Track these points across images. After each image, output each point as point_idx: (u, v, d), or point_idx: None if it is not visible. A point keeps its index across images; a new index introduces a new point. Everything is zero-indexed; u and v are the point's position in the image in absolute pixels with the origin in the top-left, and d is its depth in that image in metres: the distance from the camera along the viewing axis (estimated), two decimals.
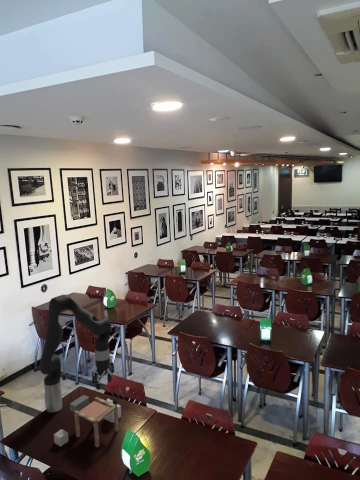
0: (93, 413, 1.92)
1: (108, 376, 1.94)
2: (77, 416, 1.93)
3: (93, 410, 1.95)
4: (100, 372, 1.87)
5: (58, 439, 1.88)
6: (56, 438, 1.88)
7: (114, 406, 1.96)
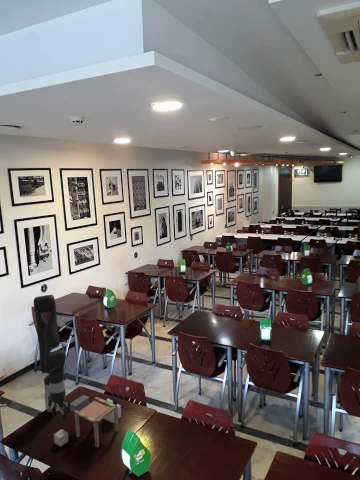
0: (93, 413, 1.92)
1: (53, 409, 1.90)
2: (77, 416, 1.93)
3: (93, 410, 1.95)
4: None
5: (58, 439, 1.88)
6: (56, 438, 1.88)
7: (114, 406, 1.96)
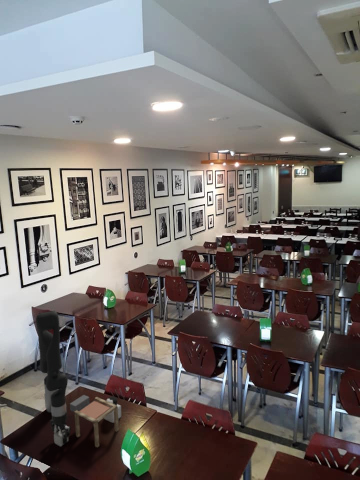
0: (93, 413, 1.92)
1: None
2: (77, 416, 1.93)
3: (93, 410, 1.95)
4: None
5: (58, 439, 1.88)
6: (56, 438, 1.88)
7: (114, 406, 1.96)
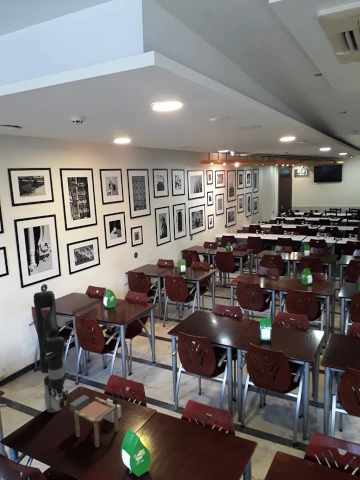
0: (93, 413, 1.92)
1: None
2: (77, 416, 1.93)
3: (93, 410, 1.95)
4: None
5: (55, 403, 1.85)
6: (53, 402, 1.86)
7: (114, 406, 1.96)
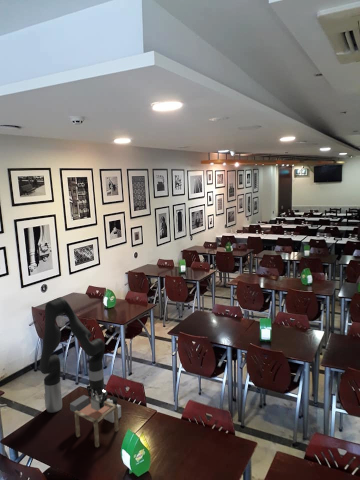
0: (93, 413, 1.92)
1: None
2: (77, 416, 1.93)
3: (93, 410, 1.95)
4: None
5: (95, 403, 1.90)
6: (93, 403, 1.91)
7: (114, 406, 1.96)
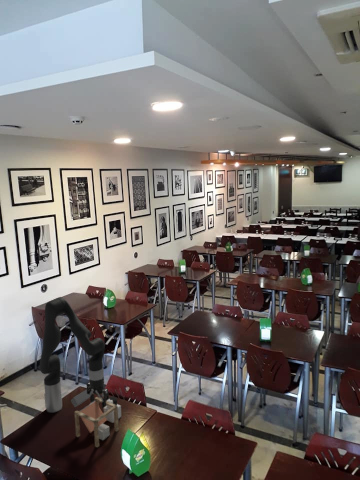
0: None
1: (92, 397, 1.95)
2: (77, 416, 1.93)
3: (92, 416, 1.97)
4: None
5: (100, 437, 1.92)
6: (100, 434, 1.92)
7: (114, 406, 1.96)
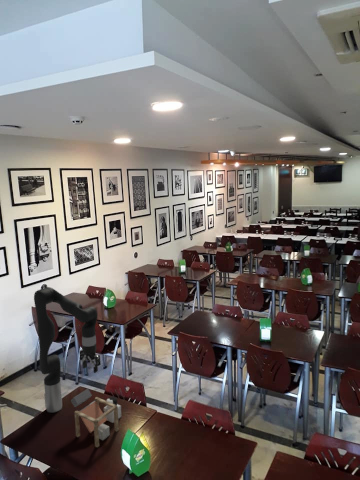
0: None
1: (84, 362, 2.04)
2: (77, 416, 1.93)
3: (92, 416, 1.97)
4: None
5: (100, 437, 1.92)
6: (100, 434, 1.92)
7: (114, 406, 1.96)
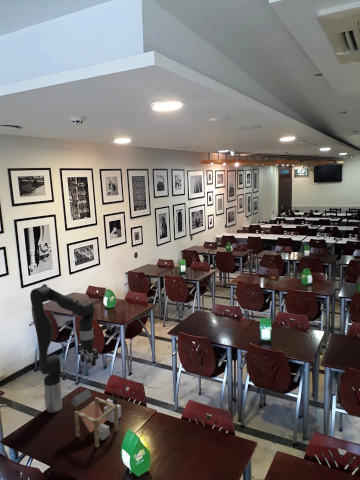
0: None
1: (82, 357, 2.07)
2: (77, 416, 1.93)
3: (92, 416, 1.97)
4: None
5: (100, 437, 1.92)
6: (100, 434, 1.92)
7: (114, 406, 1.96)
